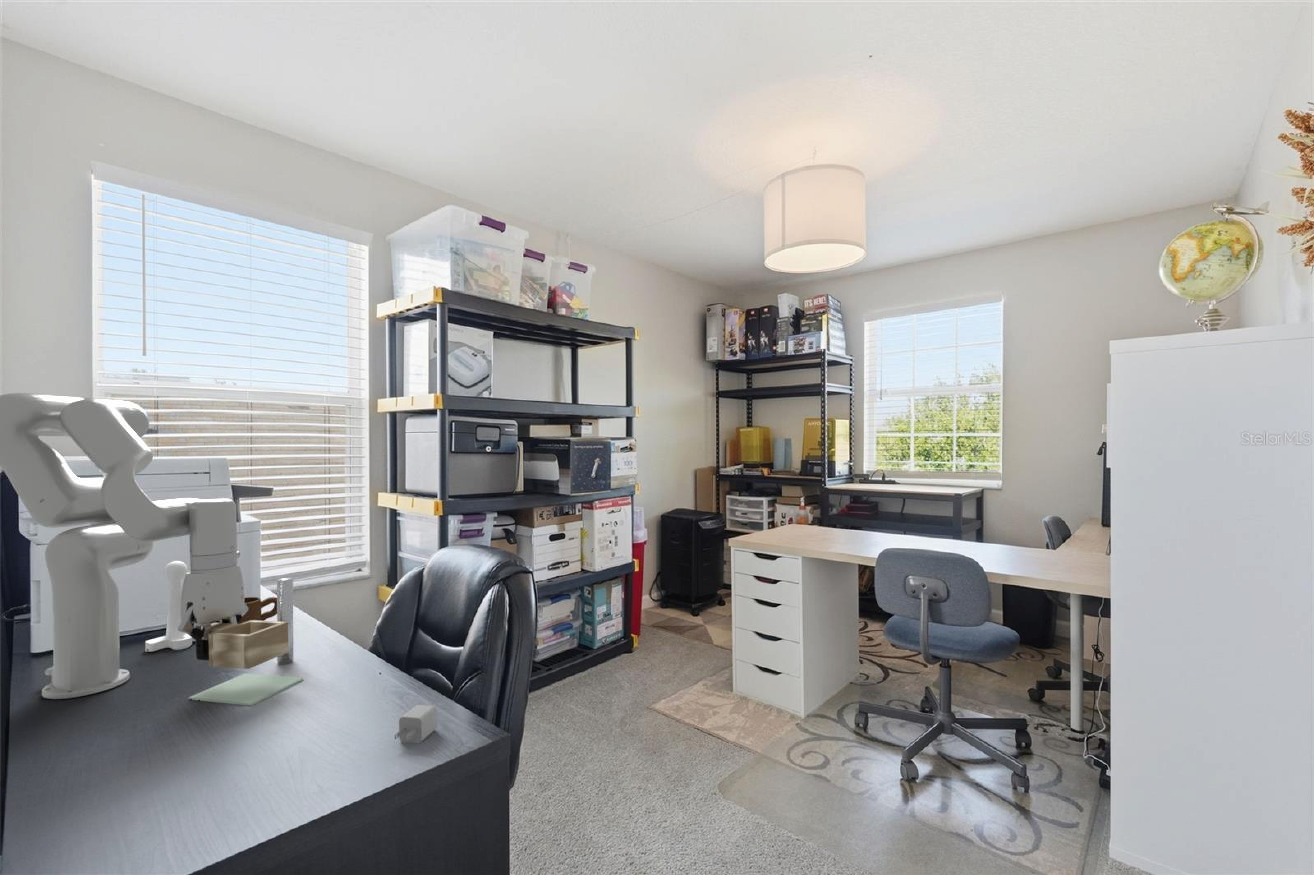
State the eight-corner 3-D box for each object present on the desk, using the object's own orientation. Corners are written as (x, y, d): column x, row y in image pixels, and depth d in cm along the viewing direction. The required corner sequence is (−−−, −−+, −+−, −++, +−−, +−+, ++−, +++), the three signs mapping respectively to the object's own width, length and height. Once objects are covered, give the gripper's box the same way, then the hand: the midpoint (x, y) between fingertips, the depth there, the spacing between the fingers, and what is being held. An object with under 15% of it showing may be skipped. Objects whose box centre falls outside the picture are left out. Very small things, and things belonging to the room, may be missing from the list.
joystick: (200, 637, 149) (199, 556, 150) (212, 642, 145) (212, 559, 145) (143, 650, 140) (142, 564, 140) (154, 656, 136) (154, 567, 136)
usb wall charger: (436, 730, 99) (436, 706, 99) (412, 752, 92) (412, 725, 92) (414, 729, 100) (414, 704, 100) (389, 750, 93) (388, 724, 93)
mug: (277, 628, 156) (277, 592, 156) (285, 635, 150) (285, 597, 150) (221, 639, 147) (221, 600, 148) (226, 646, 142) (226, 606, 142)
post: (274, 664, 130) (273, 580, 130) (285, 659, 133) (284, 577, 133) (285, 664, 130) (285, 581, 130) (296, 659, 133) (296, 578, 133)
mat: (188, 699, 112) (188, 697, 112) (245, 675, 124) (245, 673, 124) (250, 705, 109) (250, 703, 109) (303, 680, 121) (303, 678, 121)
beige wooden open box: (183, 664, 115) (182, 632, 115) (226, 648, 123) (226, 619, 123) (248, 669, 111) (248, 636, 111) (288, 652, 120) (287, 622, 120)
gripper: (236, 553, 128) (238, 640, 127) (155, 570, 111) (157, 670, 111) (266, 554, 126) (267, 642, 126) (187, 571, 110) (189, 672, 109)
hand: (215, 654), depth 118 cm, fingers closed on beige wooden open box, 4 cm apart
